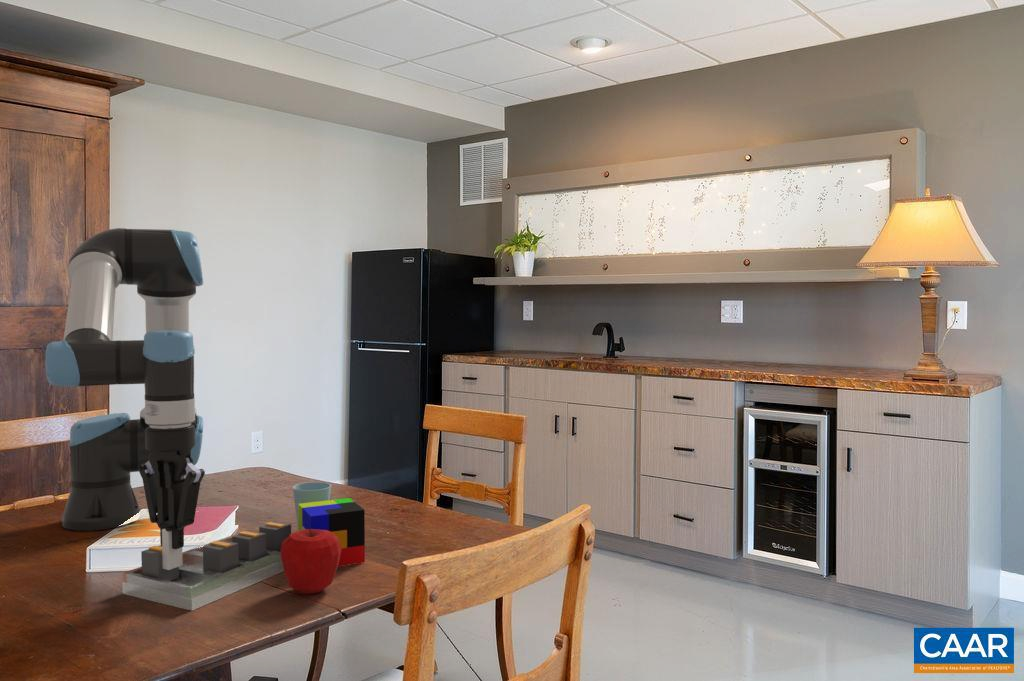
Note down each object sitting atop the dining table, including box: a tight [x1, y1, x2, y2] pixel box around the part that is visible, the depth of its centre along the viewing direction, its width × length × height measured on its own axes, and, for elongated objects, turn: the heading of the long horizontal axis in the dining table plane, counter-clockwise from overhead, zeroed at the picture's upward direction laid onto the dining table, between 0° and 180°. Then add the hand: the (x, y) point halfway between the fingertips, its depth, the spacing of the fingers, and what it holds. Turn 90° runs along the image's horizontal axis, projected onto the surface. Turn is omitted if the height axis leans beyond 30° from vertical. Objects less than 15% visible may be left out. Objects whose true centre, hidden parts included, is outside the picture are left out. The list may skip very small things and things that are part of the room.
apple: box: [280, 528, 342, 595], centre depth 132 cm, size 10×10×11 cm
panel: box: [121, 532, 284, 612], centre depth 138 cm, size 16×26×4 cm, turn 154°
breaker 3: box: [231, 530, 266, 562], centre depth 139 cm, size 4×4×5 cm
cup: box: [292, 481, 332, 526], centre depth 163 cm, size 8×8×10 cm
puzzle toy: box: [297, 497, 366, 567], centre depth 149 cm, size 10×10×10 cm
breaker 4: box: [258, 521, 292, 551], centre depth 145 cm, size 4×4×5 cm
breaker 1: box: [140, 544, 179, 581], centre depth 131 cm, size 4×4×5 cm
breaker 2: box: [202, 539, 239, 573], centre depth 133 cm, size 4×4×5 cm
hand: (172, 566), depth 130 cm, fingers closed
